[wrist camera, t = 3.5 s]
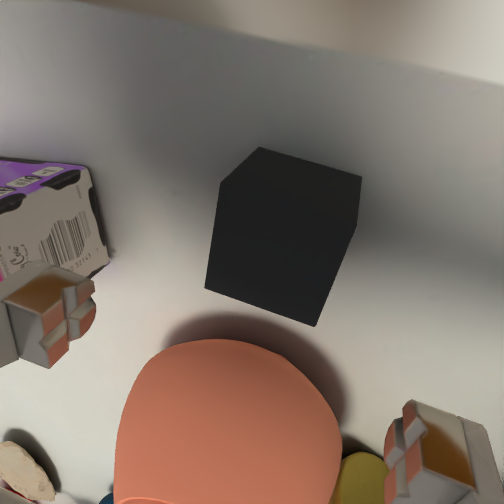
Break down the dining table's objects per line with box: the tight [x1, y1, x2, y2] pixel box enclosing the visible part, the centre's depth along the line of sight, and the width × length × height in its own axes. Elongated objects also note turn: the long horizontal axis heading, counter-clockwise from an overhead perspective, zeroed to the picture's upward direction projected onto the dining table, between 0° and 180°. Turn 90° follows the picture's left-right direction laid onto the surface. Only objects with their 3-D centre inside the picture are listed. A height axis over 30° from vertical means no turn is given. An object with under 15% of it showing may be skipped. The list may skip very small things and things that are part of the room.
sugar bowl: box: [113, 339, 342, 504], centre depth 19 cm, size 12×14×10 cm
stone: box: [0, 441, 56, 501], centre depth 39 cm, size 8×14×2 cm, turn 166°
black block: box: [204, 147, 362, 327], centre depth 14 cm, size 4×4×4 cm
